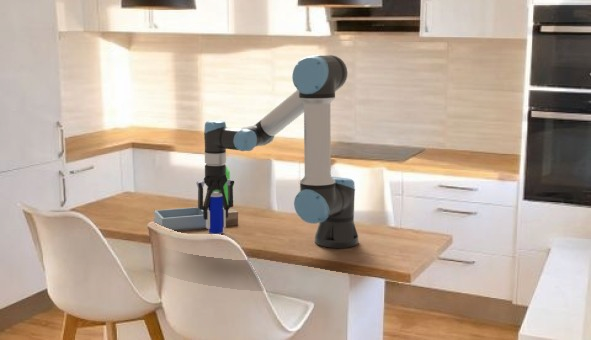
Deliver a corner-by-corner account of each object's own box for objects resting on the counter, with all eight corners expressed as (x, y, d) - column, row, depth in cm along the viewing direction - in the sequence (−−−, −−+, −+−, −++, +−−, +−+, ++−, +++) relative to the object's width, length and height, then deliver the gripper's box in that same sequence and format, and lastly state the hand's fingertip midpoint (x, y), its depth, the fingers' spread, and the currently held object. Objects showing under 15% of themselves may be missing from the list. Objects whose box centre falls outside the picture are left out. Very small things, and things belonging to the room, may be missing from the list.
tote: (209, 227, 278) (209, 214, 277) (162, 232, 272) (162, 218, 271) (199, 219, 291) (199, 206, 290) (154, 223, 284) (154, 210, 283)
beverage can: (225, 232, 272) (225, 192, 269) (218, 235, 268) (218, 194, 265) (213, 230, 274) (213, 190, 272) (206, 234, 270) (205, 193, 267)
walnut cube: (238, 224, 284) (238, 211, 283) (225, 225, 282) (225, 212, 281) (234, 221, 288) (234, 208, 288) (221, 222, 287) (221, 209, 286)
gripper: (236, 160, 273) (236, 222, 277) (187, 163, 266) (188, 227, 271) (242, 164, 266) (243, 227, 271) (193, 167, 259) (194, 232, 264)
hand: (215, 227), depth 271 cm, fingers closed on beverage can, 5 cm apart
